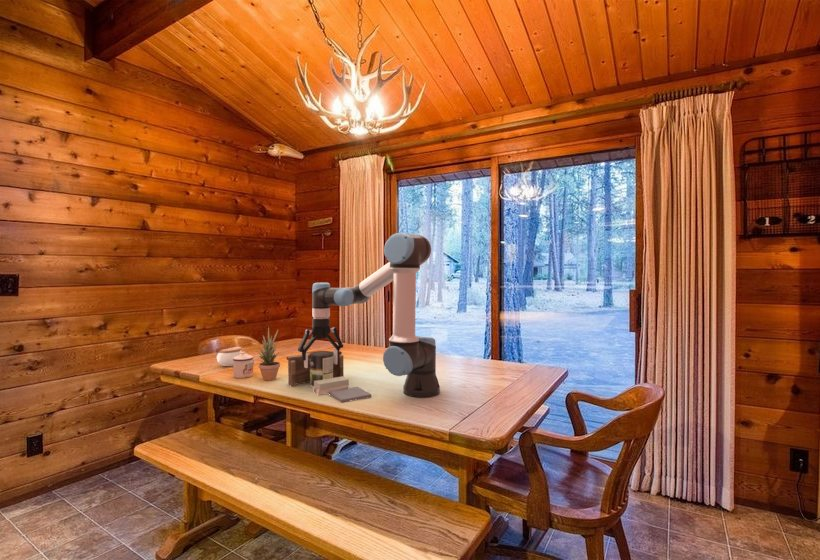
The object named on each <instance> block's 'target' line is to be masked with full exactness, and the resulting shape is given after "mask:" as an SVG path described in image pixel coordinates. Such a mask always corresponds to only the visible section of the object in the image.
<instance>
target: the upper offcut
mask: <svg viewBox="0 0 820 560" xmlns="http://www.w3.org/2000/svg"><path fill="white" fill-rule="evenodd" d="M349 381H350V380H349V378H346V377H345V376H344V377H343V376H342V377H336V378H329V379H323V380H317V381H314V387H315V388H317V389H318V390H324V389H330V388H335V387H341V386H347V385H348V386H349V385H350V384H349V383H350V382H349Z"/></svg>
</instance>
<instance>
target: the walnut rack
mask: <svg viewBox="0 0 820 560" xmlns="http://www.w3.org/2000/svg"><path fill="white" fill-rule="evenodd" d="M330 352H333V378H336V377H342V376H343V377H345V376H344V355H343V354H342V351H341V350H339V356H337V364H334V350H333V351H330ZM309 354H310V353H308V368H305V367H304V360H302V354H300V355H299V354H298V355H290V356H286V361H287V365H288V367H287V369H288V371H287V372H288V381H287V382H288V385H289V386H290V385H291V386H290V387H291V388H294V386H295V387H297V384H296V383H298V384H304V383H303V382H305V383H310V382H309V381H310V355H309Z"/></svg>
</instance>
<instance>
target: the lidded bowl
mask: <svg viewBox="0 0 820 560" xmlns="http://www.w3.org/2000/svg"><path fill="white" fill-rule="evenodd" d="M241 352H242V347H241V346H237V345H231V344H227V346H221V347H217V348H216V349H215V355H216V360H217V363H218V364H220V366H221V367H223V366H231V367H233V358H234V357H236V356H238V355H239V354H241Z"/></svg>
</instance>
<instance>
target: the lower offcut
mask: <svg viewBox="0 0 820 560" xmlns="http://www.w3.org/2000/svg"><path fill="white" fill-rule="evenodd" d="M347 388H349V385H347V386H341V387H335V388H330V389H324V390H318V389H317V388H315V387H312V391H314V392H315V394H316V395H317V394H318V396H321V394H323V395H327V393H329V391H335V390H341V389H347ZM314 392H313V393H314Z"/></svg>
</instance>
